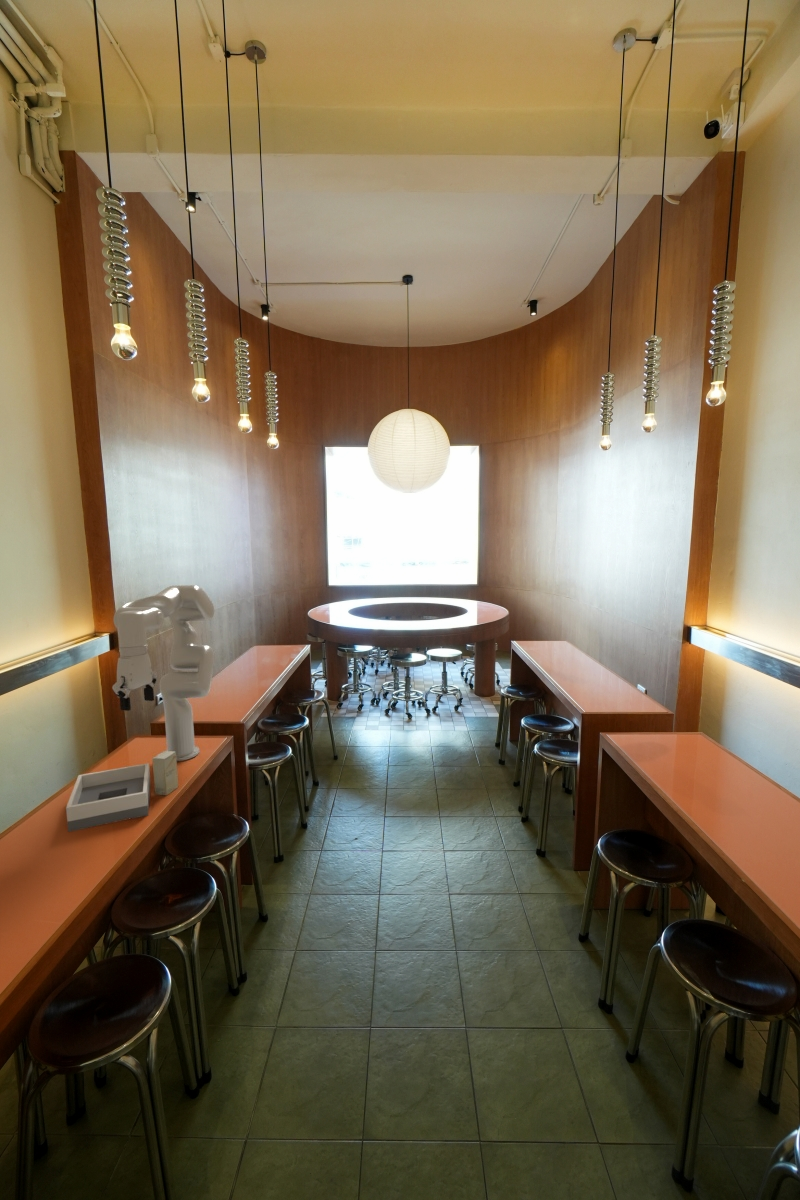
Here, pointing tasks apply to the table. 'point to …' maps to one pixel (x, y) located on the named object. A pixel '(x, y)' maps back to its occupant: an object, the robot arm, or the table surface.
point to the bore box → (109, 797)
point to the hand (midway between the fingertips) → (137, 705)
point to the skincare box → (165, 772)
